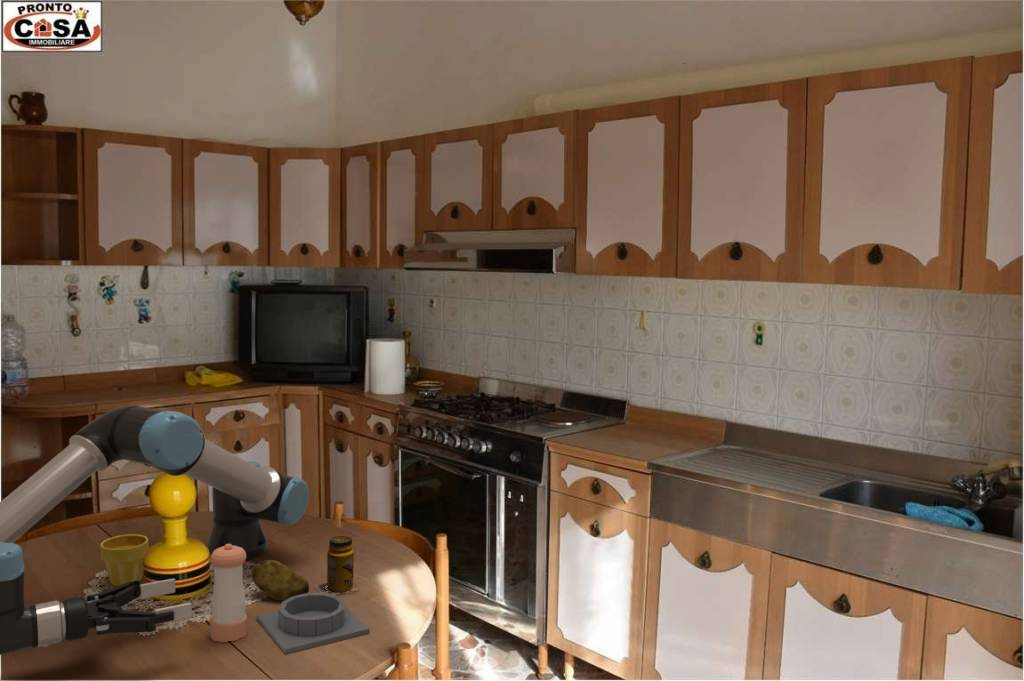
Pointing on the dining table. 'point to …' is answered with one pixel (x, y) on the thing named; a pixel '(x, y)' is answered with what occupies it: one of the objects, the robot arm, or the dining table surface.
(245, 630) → the salt shaker
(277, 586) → the potato
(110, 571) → the plant pot
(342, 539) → the condiment
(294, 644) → the collar stand
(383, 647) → the dining table surface
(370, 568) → the dining table surface
